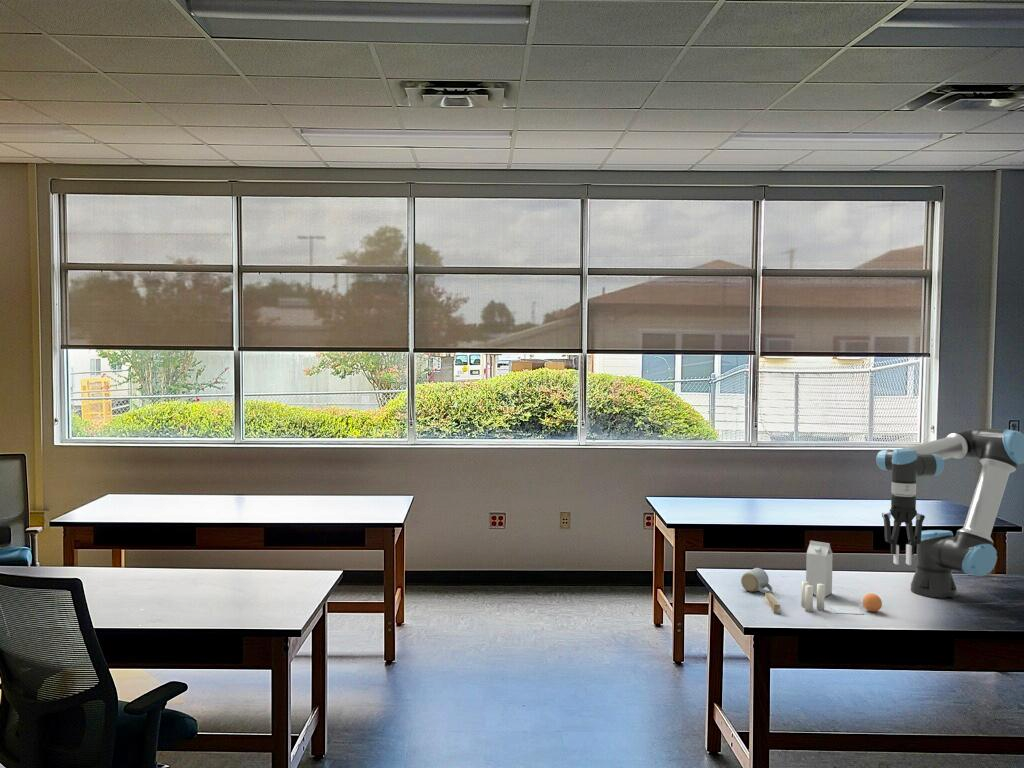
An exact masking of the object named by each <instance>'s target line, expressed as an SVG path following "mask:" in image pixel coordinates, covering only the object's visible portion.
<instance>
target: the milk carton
mask: <svg viewBox="0 0 1024 768" xmlns="http://www.w3.org/2000/svg"><path fill="white" fill-rule="evenodd" d="M833 557H834V556H833V551H832V548H831V543H829V542H822V541H815V540H809V544H808V546H807V550H806V560H805V561H806V567H805V568H806V572H805V574H806V575H805V581H807V582H809V585H811V586H813V594H814V595H813V596H817V584H824V585H825V594H824V598H827V596H829V595H831V594H832V592H833Z"/></svg>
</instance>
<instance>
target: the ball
mask: <svg viewBox="0 0 1024 768" xmlns="http://www.w3.org/2000/svg"><path fill="white" fill-rule="evenodd" d="M862 606H863V607H864V609H865V610H867V611H868V612H873V613H875V612H878V611H880V610H881V608H882V606H883V602H882V599H881V597H880V596H879V595H878V594H876V593H867V594H865V595H864V596H863V599H862Z"/></svg>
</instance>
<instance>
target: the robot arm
mask: <svg viewBox="0 0 1024 768" xmlns="http://www.w3.org/2000/svg"><path fill="white" fill-rule="evenodd" d="M875 458H876V459H875V460H876V461H875V462H876V465H877V467H878V468H879V469H880V470H882V471H887V472H891V488H890V492H891V497H890V501H891V502H890V509H889V511H887V512H882V513H881V516H882V519H883V526H884V528H883V529H884V530H883V531H884V541H885V542H886V543H888V544H890V554H891V555H892V556H893V559H892V562H893V564H895V565H897V566H899V563H900V560H899V559H900V557H899V556H900V545H899V544H898V539H899V535H900V530H901V526H902V523H904V524H905V529H906V535H907V540H908V542H907V543H906V544H905V564H906V565H908V566H912V556H914V555H915V547H916V565H915V566H916V569H915V572H914V575H913V577H912V579H911V583H910V591H911V592H912V593H914V594H917V595H920V596H923V597H928V596H929V598H935V597H939V598H938V599H947V598H946V597H953V598H955V597H954V596H956V595H957V596H958V589H957V586H956V582H955V580H954V575H953V571H956V572H961V573H965V574H966V575H968V576H969V575H970V576H977V577H983V576H986V575H987V574H989V573H990V572H992V571H993V569H994V568H995V566H996V564H997V561H998V555H997V554H998V551H997V550H996V548H995V547H994V540H993V539H992V537H991V535H992V532H993V529H994V525H995V522H996V519H997V516H998V512H999V509H1000V505H1001V502H1002V499H1003V495H1004V494H1005V489H1006V487H1007V483H1008V480H1009V477H1010V474H1012V473H1014V472H1016V471H1017V468H1018V465H1022V464H1024V433H1022V432H1021V431H1018V430H1011V429H1010V428H1009V429H1003V428H1002V429H1000V428H989V427H976V428H975V427H974V428H969V429H965V430H959V431H957V432H956V431H955V432H952V433H949V434H948V435H946V437H944V438H939V439H935V440H931V441H926V442H924V443H920V444H915V445H910V446H906V447H904V448H895V449H893V450H891V449H882V450H880V451H879V452H877V455H876V457H875ZM952 458H953V459H957V460H958V459H963V458H964V459H965V458H969V459H971V458H972V459H979V463H980V464H981V466H982V467H981V471H980V474H979V477H978V481H977V482H976V483H977V484H976V486H975V489H974V493H973V495H972V499H971V503H970V506H969V507H968V512H967V515H966V518H965V521H964V524H963V527H962V528H959V529H958V530H956V534H955V536H954V533H953V531H952V530H944V529H943V530H942V529H927V530H923V522H924V520H925V518H926V515H924V514H922V513H919V512H918V511H917V507H916V506H917V496H916V495H917V478H919V477H920V478H921V477H935V476H940V475H941V474H942V473H943V471H944V469H945V462H944V461H945V460H948V459H952ZM891 517H892V518H893V527H892V530H891ZM914 518H915V528H913V525H914V524H913V520H914ZM913 529H914V530H913ZM957 596H956V597H957Z"/></svg>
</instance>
